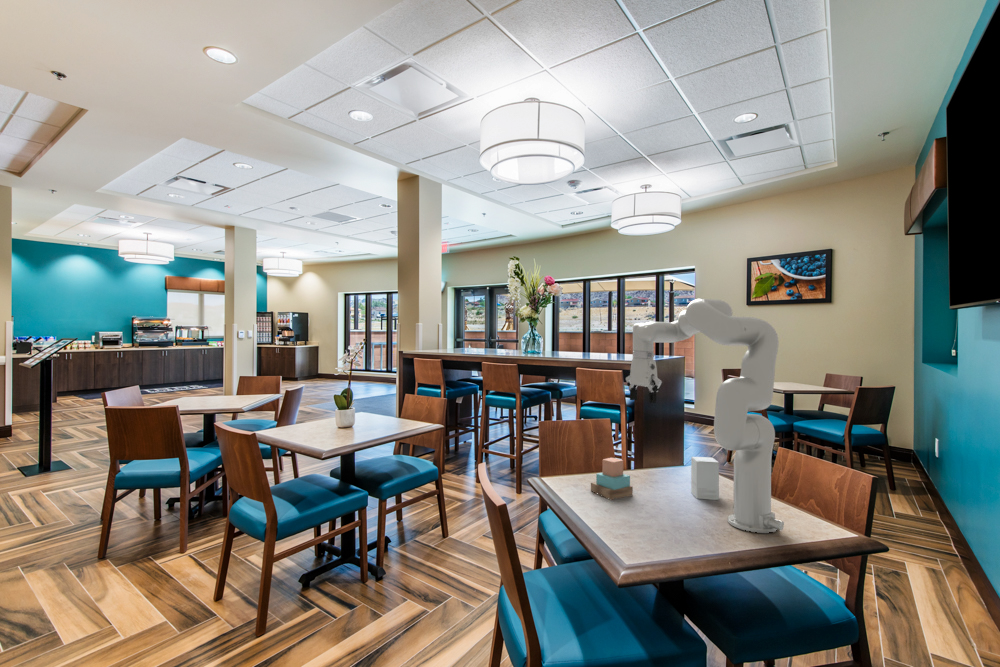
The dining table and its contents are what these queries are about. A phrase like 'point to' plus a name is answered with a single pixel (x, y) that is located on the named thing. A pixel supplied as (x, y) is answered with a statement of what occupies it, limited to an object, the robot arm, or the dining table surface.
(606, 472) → the salmon orange cube
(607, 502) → the dining table surface
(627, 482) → the teal top slab
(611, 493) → the walnut base slab
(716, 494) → the supplement box
